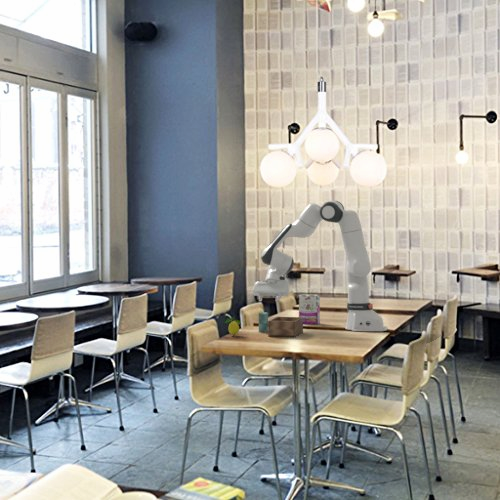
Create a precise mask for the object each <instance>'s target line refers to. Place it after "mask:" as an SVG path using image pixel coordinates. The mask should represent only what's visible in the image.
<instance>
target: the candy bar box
mask: <svg viewBox="0 0 500 500" xmlns="http://www.w3.org/2000/svg"><path fill="white" fill-rule="evenodd" d="M320 299H321V298H320V294H299V295H298V317H303V325H319V324H321V307H320V306H321V302H320V301H321V300H320Z"/></svg>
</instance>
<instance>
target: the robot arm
mask: <svg viewBox="0 0 500 500" xmlns="http://www.w3.org/2000/svg"><path fill="white" fill-rule="evenodd" d="M323 220H324V221H325V222H327V223H335V224H336V223H337V224H338V225H339V229H340V233H341V238H342V244H343V249H344V252H345V254H346V257H347V260H346V263H345V269H346V270H345V271H346V281H347V303H346V313H347V317H346V324H345V330H349V331H353V332H384V331H385V332H386V331H388V326H385V324H384V321H383V320H384V319H383V317H382V316H381V315H380V314H378V313H377V312H376V311H375V310H373V303H371V302H370V293H369V292H370V291H369V290H370V289H369V283H368V275H369V274H370V272H371V269H372V266H371V261H370V257H369V253H368V250H367V248H366V247H367V246H366V245H365V240H364V239H365V238H364V235H363V234H364V233H363V230H362V229H363V228H362V225H361V221H360V217H359V215H358V212H356V211H354V210H351V209H348V210H345V207H344V205H343V203H342V202H340V201H338V200H328V201H326V202H324V203H323V204H322V205H319V204H317V203H309V204H308V205H307V206H306V207H305V208H304V209H303V210H302V212H301V213H300V215H299V216H298V218H297V219H296V220H295V221H294V222H292V223H288V224H286V226H284V227H283V228H282V229H281V231H280V232H279V233H278V234H277V235H276V236H275V237H274V239H273V240H272V241H271V242H270V243H269V244H268V245H267V246H266V247H265V248H264V249H263V250H262V253H261V254H260V258H261V261H262V263H263V264H265V265H267V266H268V267H267V272H266V275H265V279H264V280H257V281H255V282H254V283H253V287H252V289H251V292H252V294H253V296H255V297H256V296H257V297H258V302H262V301H263V298H262V297H275V302H277V303H279V301H280V299H282V298H283V297H288V296H289V295H290V283H289V279H288V278H287V277H286V276H284V275H287V274H289V273H290V272H291V271H292V270H293V268H294V264H295V260H294V258H293V256H291V255H290V254H287V253H285V252H283V251H281V250H279V249H278V248H279V247H280V246H281V245H282V243H284V241H286V239H287V238H298V239H299V238H301V239H302V238H303V239H304V238H309V237H310V236H312V235H313V233H314V232H315V231H316V229H317V228H318V226H319V224H320V223H321V221H323Z"/></svg>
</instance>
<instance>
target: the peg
mask: <svg viewBox="0 0 500 500" xmlns="http://www.w3.org/2000/svg"><path fill="white" fill-rule="evenodd" d="M268 321H269V312H262V311H261V312H258V333H268Z"/></svg>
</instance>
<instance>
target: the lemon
mask: <svg viewBox="0 0 500 500" xmlns="http://www.w3.org/2000/svg"><path fill="white" fill-rule="evenodd" d="M232 320H233V321H232ZM228 323H229V325H228V332H229V334H231V335H232V336H233V337H235V336H236V335H237V334H238V333H240V326H242V322H241V321H240V320H238V319H235V318H234V317H229V318H227V319H226V320H225V322H224V324H228ZM239 325H240V326H239Z"/></svg>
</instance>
